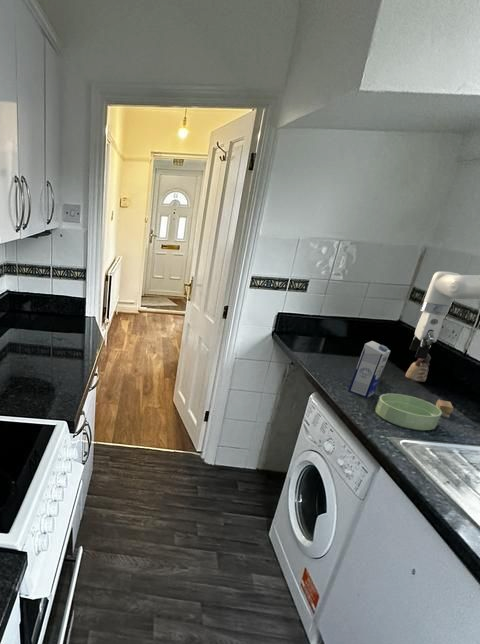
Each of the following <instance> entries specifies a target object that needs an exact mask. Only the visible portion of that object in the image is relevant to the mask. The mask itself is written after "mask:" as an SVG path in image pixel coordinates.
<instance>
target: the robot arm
mask: <svg viewBox="0 0 480 644" xmlns="http://www.w3.org/2000/svg"><path fill="white" fill-rule="evenodd" d="M453 299H457V300H467V299H468V300H480V274H478V275H477V274H470V275H469V274H460V273H457V272H452V271H443V270H441V271H436V272H434V274H433V275H432V278H431V280H430V283H429V286H428V288H427V291H426V293H425V297H424V299H423V302H422V305H421V307H420V311H421V312H422V313H421V315H420V317H419V320H418V321H417V324H416V327H415V331H414V336H413V339H412V341H411V344H410V346H409V350H410V351H412V352H416V353H415V356H414V358H416V359H419V358H421V359H426V358H427V355H428V354H429V351H430V350H431V347H432V344H433V343H436V342H437V340H438V338H439V335H440V331H441V329H442V325H443V323H444V318H445V316H446V315H448V313H449V309H450V307H451V305H452V302H453Z"/></svg>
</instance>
